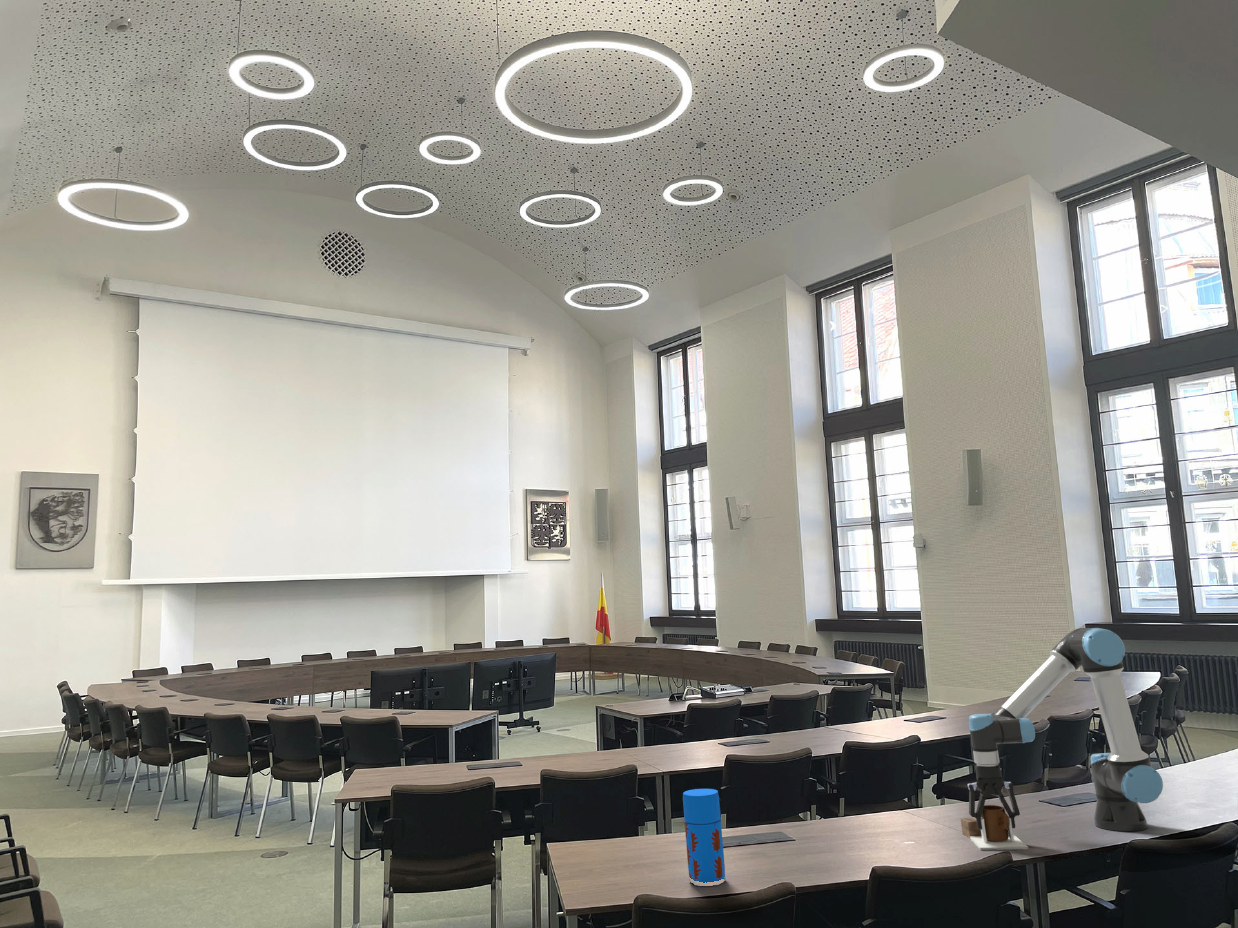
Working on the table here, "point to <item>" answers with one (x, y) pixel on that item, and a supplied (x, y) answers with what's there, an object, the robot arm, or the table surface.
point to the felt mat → (998, 844)
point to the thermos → (703, 835)
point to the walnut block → (970, 827)
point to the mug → (995, 823)
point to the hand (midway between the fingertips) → (998, 839)
